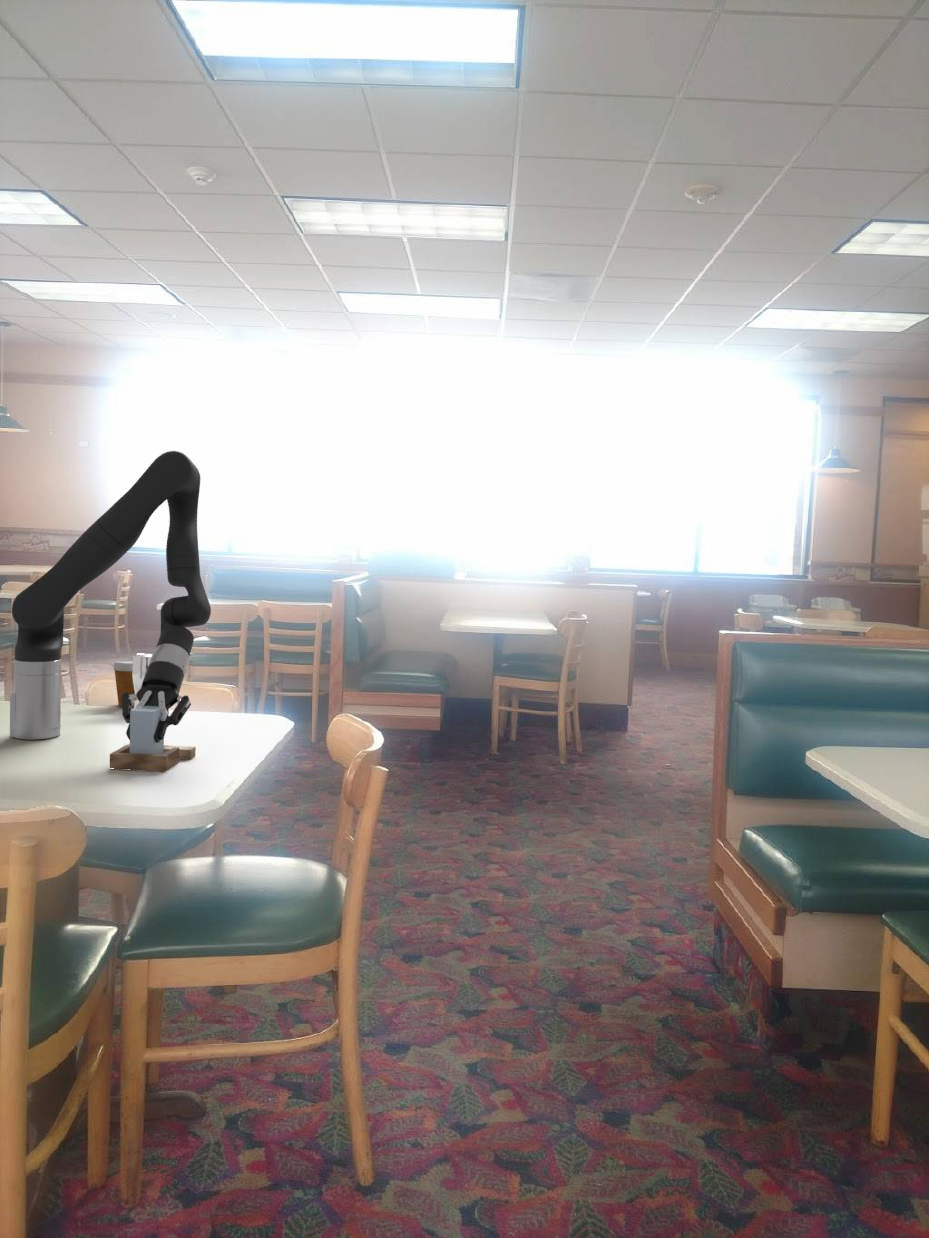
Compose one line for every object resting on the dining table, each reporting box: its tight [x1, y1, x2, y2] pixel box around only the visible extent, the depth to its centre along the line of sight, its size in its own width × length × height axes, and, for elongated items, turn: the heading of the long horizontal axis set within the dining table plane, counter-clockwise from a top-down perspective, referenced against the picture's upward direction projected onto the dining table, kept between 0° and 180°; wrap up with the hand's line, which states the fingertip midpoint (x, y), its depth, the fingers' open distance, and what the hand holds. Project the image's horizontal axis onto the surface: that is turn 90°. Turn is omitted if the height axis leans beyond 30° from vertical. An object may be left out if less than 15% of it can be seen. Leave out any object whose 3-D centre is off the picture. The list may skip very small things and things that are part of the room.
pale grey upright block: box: [129, 706, 165, 755], centre depth 165 cm, size 4×6×10 cm
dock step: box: [126, 743, 196, 760], centre depth 172 cm, size 14×3×2 cm, turn 90°
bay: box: [109, 744, 180, 772], centre depth 164 cm, size 11×8×3 cm
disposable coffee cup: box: [112, 658, 135, 708], centre depth 225 cm, size 10×10×12 cm
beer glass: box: [132, 653, 153, 709], centre depth 216 cm, size 7×7×15 cm
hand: (143, 739), depth 163 cm, fingers closed on pale grey upright block, 4 cm apart
